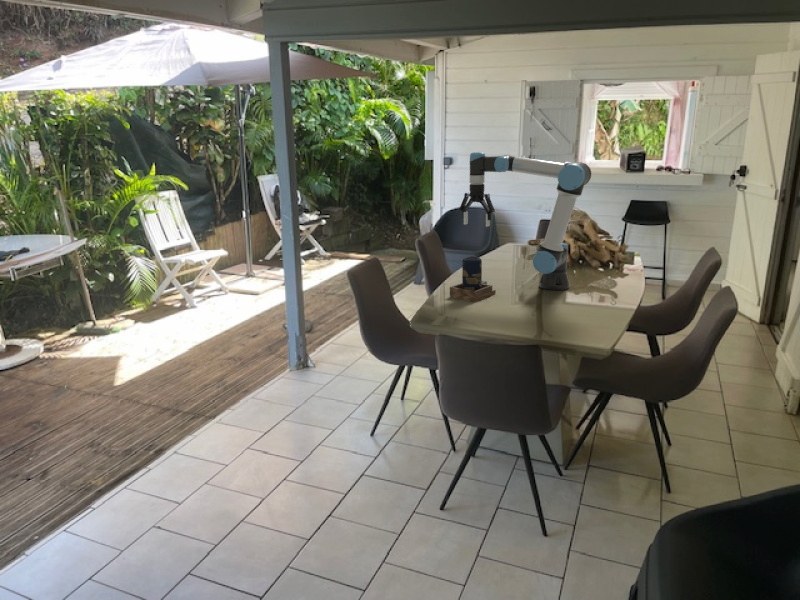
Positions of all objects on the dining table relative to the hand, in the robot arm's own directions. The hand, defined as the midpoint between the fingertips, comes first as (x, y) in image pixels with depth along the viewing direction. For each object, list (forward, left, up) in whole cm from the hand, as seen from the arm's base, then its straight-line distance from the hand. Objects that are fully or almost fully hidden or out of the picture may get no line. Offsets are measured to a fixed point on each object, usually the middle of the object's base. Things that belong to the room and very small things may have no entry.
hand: (476, 225), depth 315 cm
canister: (-11, +20, -30) cm, 38 cm away
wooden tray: (-11, +19, -32) cm, 38 cm away
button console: (-5, +6, -32) cm, 33 cm away
